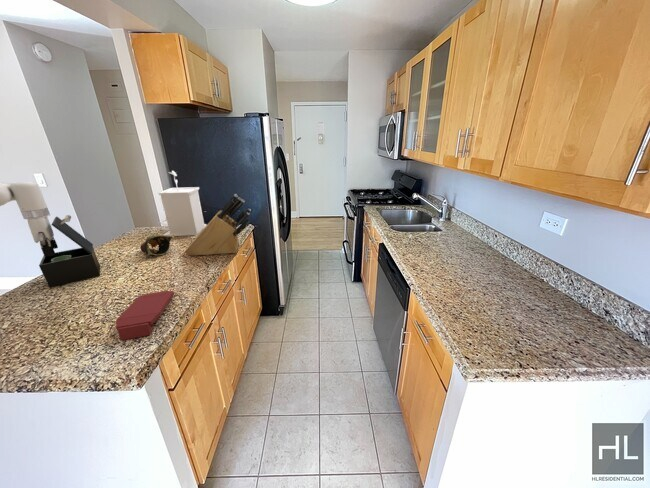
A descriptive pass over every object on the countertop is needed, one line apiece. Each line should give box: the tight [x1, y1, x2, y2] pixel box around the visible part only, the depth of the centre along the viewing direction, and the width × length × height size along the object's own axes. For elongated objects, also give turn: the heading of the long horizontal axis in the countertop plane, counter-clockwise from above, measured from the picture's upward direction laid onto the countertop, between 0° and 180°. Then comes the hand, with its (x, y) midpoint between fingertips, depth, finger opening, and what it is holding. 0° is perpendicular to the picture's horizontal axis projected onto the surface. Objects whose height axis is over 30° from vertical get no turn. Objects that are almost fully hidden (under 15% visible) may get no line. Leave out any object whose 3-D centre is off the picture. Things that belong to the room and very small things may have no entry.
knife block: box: [184, 193, 252, 256], centre depth 139 cm, size 11×35×31 cm, turn 99°
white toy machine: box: [158, 170, 207, 237], centre depth 172 cm, size 24×28×40 cm
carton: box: [115, 290, 175, 341], centre depth 92 cm, size 12×5×25 cm
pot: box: [139, 234, 175, 256], centre depth 142 cm, size 17×11×18 cm
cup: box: [51, 255, 72, 262], centre depth 115 cm, size 6×6×9 cm
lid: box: [50, 214, 94, 254], centre depth 115 cm, size 17×14×5 cm
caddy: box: [38, 247, 101, 289], centre depth 117 cm, size 17×14×11 cm
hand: (51, 252), depth 111 cm, fingers open, 9 cm apart
